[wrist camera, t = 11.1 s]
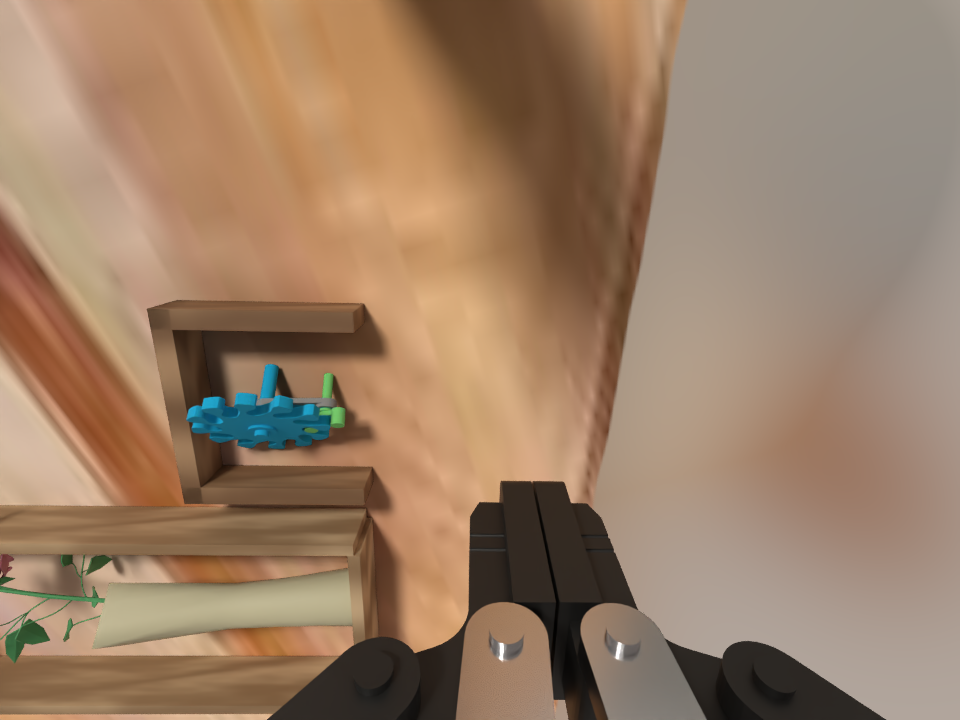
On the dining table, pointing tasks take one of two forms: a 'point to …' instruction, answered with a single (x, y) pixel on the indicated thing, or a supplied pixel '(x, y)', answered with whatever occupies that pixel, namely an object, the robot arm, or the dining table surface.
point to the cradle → (190, 385)
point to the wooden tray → (181, 677)
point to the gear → (269, 416)
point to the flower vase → (193, 607)
